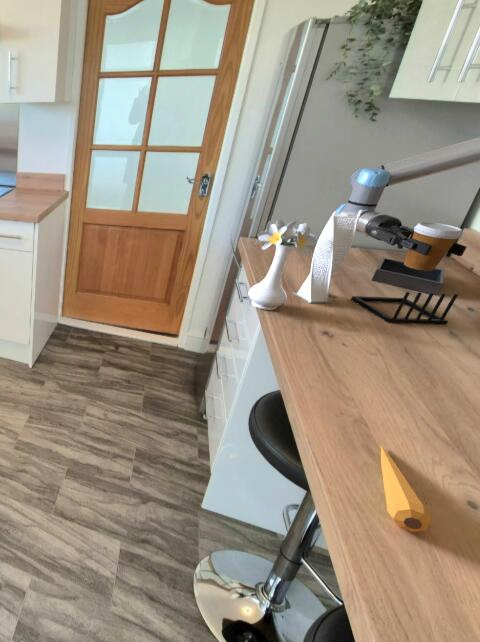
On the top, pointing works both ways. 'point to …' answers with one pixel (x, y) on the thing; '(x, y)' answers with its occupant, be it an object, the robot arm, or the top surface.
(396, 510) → the carrot
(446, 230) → the disposable coffee cup
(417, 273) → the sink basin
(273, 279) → the flower vase
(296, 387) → the top surface
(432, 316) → the dish rack
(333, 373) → the top surface
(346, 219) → the skyscraper
